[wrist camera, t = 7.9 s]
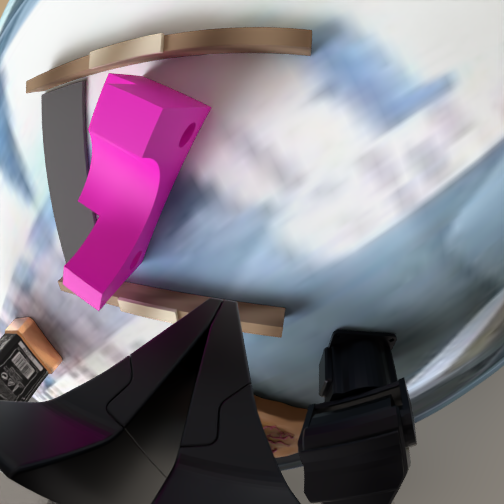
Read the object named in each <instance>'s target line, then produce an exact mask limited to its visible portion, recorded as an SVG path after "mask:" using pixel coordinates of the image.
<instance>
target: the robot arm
mask: <svg viewBox="0 0 504 504" xmlns="http://www.w3.org/2000/svg"><path fill="white" fill-rule="evenodd" d="M337 335H339V336H337ZM391 338H392V339H391ZM396 340H397V338H396V335H395V334H390V333H373V332H359V331H346V330H336V331H334V332H333V334H332V337H331V340H330V343H329V346H328V347H326V348H325V349H324V352H323V355H322V358H321V361H320V364H319V395H320V396H321V397H325V402H324V403H320V404H311V405H309V407H308V411H307V414H306V417H305V420H304V424H303V427H302V430H301V433H300V436H299V440H298V443H297V444H298V452H299V456H300V459H301V462H302V464H303V466H304V474H305V475H304V478H305V479H304V480H305V481H304V493H305V495H306V496H307V498H308V500H309V501H310V502H311V503H318V502H320V503H321V504H394V497H395V495H396V494H397V492H398V490H399V488H400V486H401V484H402V482H403V480H404V478H405V476H406V474H407V472H408V470H409V467H410V464H411V461H410V452H409V447H412V446H416V445H417V441H416V432H415V424H414V417H413V412H412V407H411V402H410V398H409V394H408V390H407V386H406V382H405V379H404V378H401V379H399V380H397V375H396V370H395V366H394V361H393V357H392V353H391V350H392V348H393V346H394V344H395V342H396ZM0 504H300V502H299V501H298V500H297V498H296V497H295V495H294V494H293V493H292V491H291V490H290V488H289V487H288V485H287V483H286V481H285V479H284V477H283V475H282V473H281V471H280V469H279V467H278V464H277V462H276V459H275V457H274V454H273V452H272V450H271V447H270V444H269V442H268V439H267V437H266V434H265V432H264V429H263V426H262V423H261V420H260V417H259V414H258V411H257V407H256V403H255V398H254V393H253V388H252V385H251V378H250V373H249V367H248V361H247V356H246V350H245V345H244V339H243V333H242V327H241V322H240V316H239V310H238V304H237V302H236V301H231V300H224V301H223V300H222V299H217V298H209V299H207V300H206V301H205V302H203V303H202V304H201V305H199V306H198V307H196V308H195V309H194V310H192V311H191V312H189V313H188V314H187V315H185V316H184V317H182V318H181V319H180V320H178V321H177V322H175V323H174V324H173V325H171V326H170V327H168V328H167V329H166V330H164V331H163V332H161V333H160V334H159V335H157V336H156V337H154V338H153V339H152V340H150V341H149V342H147V343H146V344H145V345H143V346H142V347H140V348H139V349H137V350H136V351H135V352H133V353H132V354H130V356H127V357H126V358H124V359H123V360H122V361H120V362H119V363H117V364H116V365H114V366H113V367H111V368H110V369H108V370H107V371H105V372H103V373H102V374H100V375H98V376H96V377H95V378H93V379H91V380H89V381H87V382H86V383H84V384H82V385H80V386H78V387H76V388H74V389H72V390H71V391H69V392H67V393H65V394H63V395H61V396H59V397H57V398H55V399H52V400H49V401H45V402H16V401H3V400H0Z"/></svg>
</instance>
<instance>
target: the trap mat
mask: <svg viewBox="0 0 504 504" xmlns="http://www.w3.org/2000/svg"><path fill="white" fill-rule="evenodd" d="M42 129H43V143H44V154H45V163H46V171H47V178H48V185H49V191H50V197H51V202H52V207H53V212H54V217H55V222H56V226H57V230H58V235H59V239H60V242H61V246H62V250H63V254H64V257H65V261H66V264H67V263H68V262H69V260H70V259H71V258H72V257H73V256H74V255H75V253H76V252H77V251H78V250H79V248H80V247H81V246H82V244H83V243H84V241H85V240H86V238H87V237H88V235H89V234H90V232H91V230H92V229H93V227H94V225H95V224H96V222H97V221H96V216H95V212H93V211H92V210H90V209H89V208H87V207H86V206H84V205H83V204H81V203H80V202H78V199H79V197H80V195H81V193H82V191H83V188H84V185H85V183H86V180H87V177H88V173H89V164H88V153H87V140H86V119H85V81H80V82H77V83H74V84H71V85H68V86H65V87H62V88H59V89H56V90H53V91H51V92H48V93H45V94H43V95H42Z"/></svg>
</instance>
